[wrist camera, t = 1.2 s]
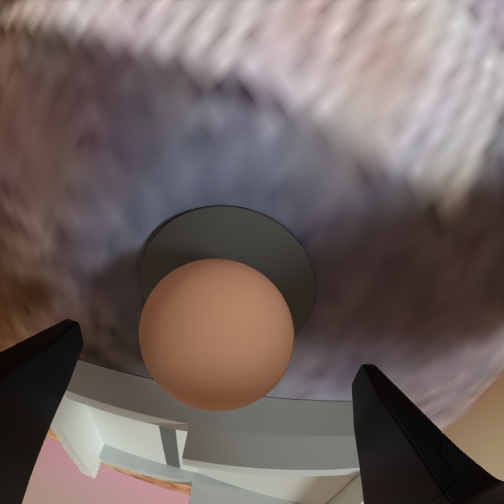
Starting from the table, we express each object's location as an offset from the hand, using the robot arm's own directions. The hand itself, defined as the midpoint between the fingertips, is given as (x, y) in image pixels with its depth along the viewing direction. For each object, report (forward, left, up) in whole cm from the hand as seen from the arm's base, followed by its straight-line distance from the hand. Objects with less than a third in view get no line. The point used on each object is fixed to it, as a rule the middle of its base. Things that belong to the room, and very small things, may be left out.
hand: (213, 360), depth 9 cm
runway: (0, +11, -4) cm, 12 cm away
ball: (0, 0, -4) cm, 4 cm away
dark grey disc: (0, 0, -4) cm, 4 cm away
